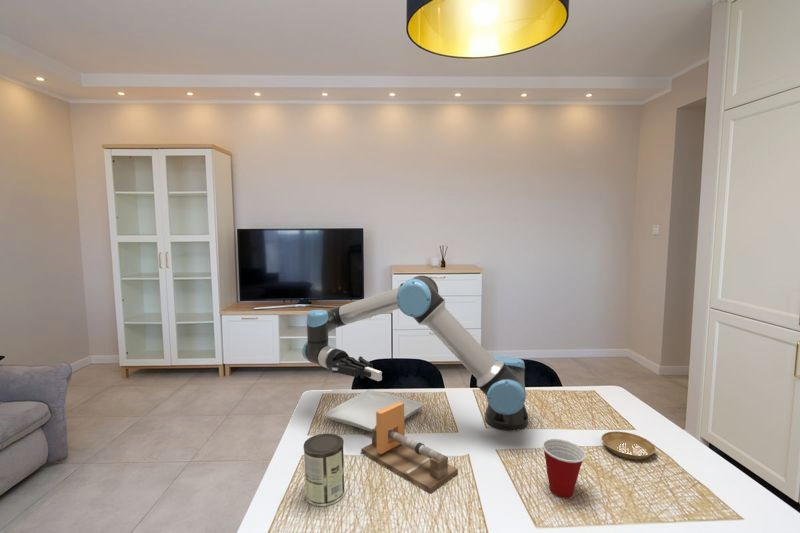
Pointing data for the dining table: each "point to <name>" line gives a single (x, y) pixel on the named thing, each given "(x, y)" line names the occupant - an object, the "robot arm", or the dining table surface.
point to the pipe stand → (412, 461)
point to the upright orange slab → (389, 425)
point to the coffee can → (324, 469)
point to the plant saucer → (627, 444)
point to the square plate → (369, 409)
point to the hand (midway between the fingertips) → (379, 376)
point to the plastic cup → (562, 465)
